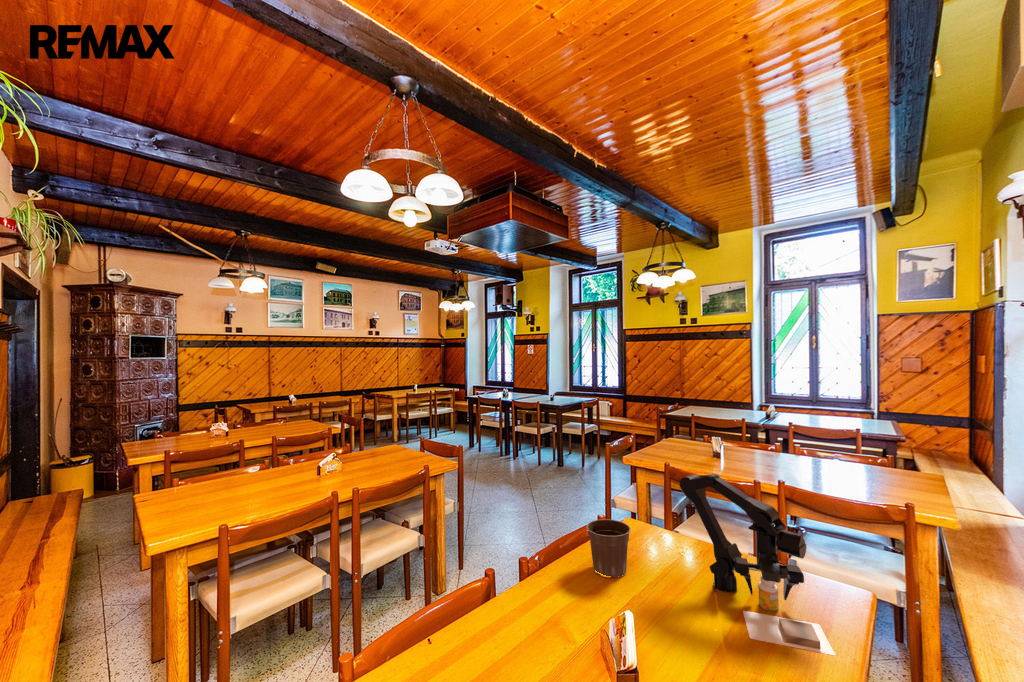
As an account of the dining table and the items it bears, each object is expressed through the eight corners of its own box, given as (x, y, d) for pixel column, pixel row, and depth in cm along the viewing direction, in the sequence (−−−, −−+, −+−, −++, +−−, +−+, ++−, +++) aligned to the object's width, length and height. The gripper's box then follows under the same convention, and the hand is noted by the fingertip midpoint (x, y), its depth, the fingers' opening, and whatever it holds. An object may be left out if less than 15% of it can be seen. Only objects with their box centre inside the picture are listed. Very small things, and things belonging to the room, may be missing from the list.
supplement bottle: (755, 604, 137) (754, 573, 137) (770, 603, 137) (769, 572, 137) (766, 614, 131) (765, 582, 132) (782, 613, 132) (781, 581, 132)
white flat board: (749, 641, 119) (749, 637, 119) (742, 612, 132) (742, 610, 132) (836, 658, 112) (835, 655, 112) (819, 627, 125) (819, 623, 125)
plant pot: (580, 574, 157) (579, 530, 157) (596, 556, 170) (595, 516, 171) (624, 586, 148) (622, 539, 149) (636, 566, 162) (635, 523, 162)
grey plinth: (785, 642, 117) (785, 634, 117) (779, 625, 124) (779, 618, 125) (820, 649, 114) (820, 641, 114) (811, 631, 122) (811, 624, 122)
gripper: (736, 553, 131) (738, 604, 130) (808, 563, 124) (810, 617, 123) (732, 538, 141) (733, 586, 141) (798, 547, 134) (800, 597, 134)
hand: (768, 596), depth 134 cm, fingers open, 9 cm apart
